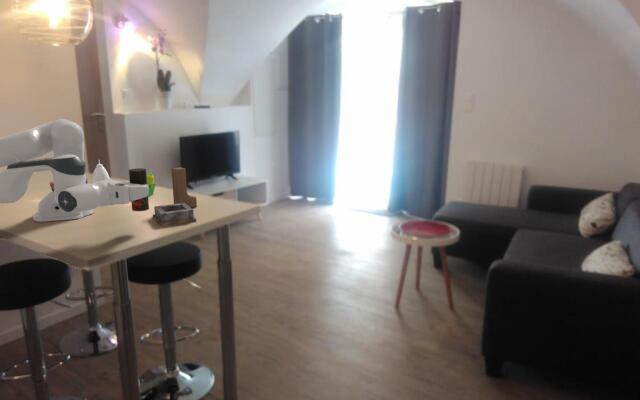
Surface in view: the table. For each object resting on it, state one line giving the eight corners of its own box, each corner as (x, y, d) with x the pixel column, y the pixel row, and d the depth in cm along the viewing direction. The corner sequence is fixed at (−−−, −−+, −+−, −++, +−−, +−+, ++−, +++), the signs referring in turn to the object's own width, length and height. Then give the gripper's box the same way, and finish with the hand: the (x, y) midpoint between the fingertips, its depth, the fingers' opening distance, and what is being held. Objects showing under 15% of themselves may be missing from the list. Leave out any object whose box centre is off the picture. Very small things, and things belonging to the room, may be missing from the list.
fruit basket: (141, 193, 234) (139, 171, 231) (159, 193, 234) (157, 171, 231) (132, 199, 223) (130, 175, 220) (150, 199, 223) (148, 176, 220)
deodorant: (152, 208, 177) (149, 169, 174) (140, 212, 172) (137, 171, 168) (140, 206, 180) (137, 167, 176) (128, 210, 174) (125, 170, 171)
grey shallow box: (160, 226, 182) (159, 214, 181) (152, 217, 194) (151, 206, 192) (196, 221, 189) (195, 210, 188) (186, 212, 201) (186, 202, 199)
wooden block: (192, 204, 214) (189, 165, 209) (197, 206, 211) (195, 167, 206) (173, 208, 208) (171, 168, 203) (178, 210, 205) (176, 169, 200)
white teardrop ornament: (96, 198, 223) (92, 160, 219) (91, 195, 229) (87, 158, 225) (113, 195, 228) (110, 159, 224) (108, 192, 234) (104, 157, 230)
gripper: (89, 197, 168) (122, 189, 180) (129, 204, 159) (160, 196, 170) (88, 179, 167) (120, 173, 178) (127, 186, 157) (159, 179, 169)
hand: (140, 185), depth 174 cm, fingers closed on deodorant, 6 cm apart
